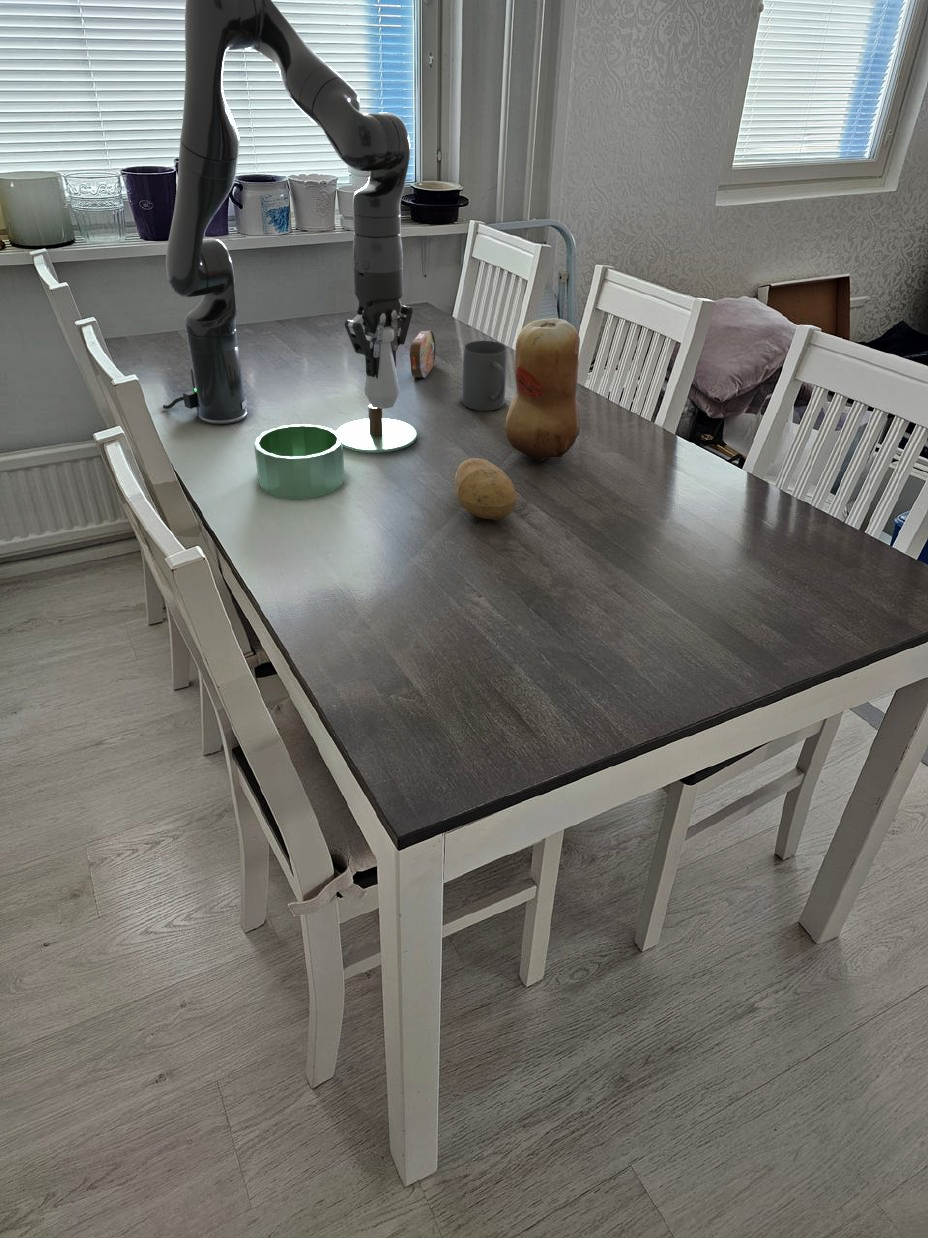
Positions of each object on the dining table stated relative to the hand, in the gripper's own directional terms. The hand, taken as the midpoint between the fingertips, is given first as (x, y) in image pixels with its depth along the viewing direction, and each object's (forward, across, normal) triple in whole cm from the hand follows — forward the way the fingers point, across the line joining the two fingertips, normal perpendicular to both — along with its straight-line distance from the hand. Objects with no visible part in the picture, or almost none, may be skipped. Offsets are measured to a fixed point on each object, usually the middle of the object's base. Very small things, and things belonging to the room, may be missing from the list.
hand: (381, 375), depth 140 cm
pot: (+19, +10, -10) cm, 24 cm away
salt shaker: (+5, 0, 0) cm, 5 cm away
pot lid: (+18, -12, -13) cm, 26 cm away
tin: (+19, -48, -32) cm, 61 cm away
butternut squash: (+19, -26, +16) cm, 36 cm away
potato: (+19, -1, +22) cm, 29 cm away
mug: (+19, -40, -7) cm, 45 cm away
